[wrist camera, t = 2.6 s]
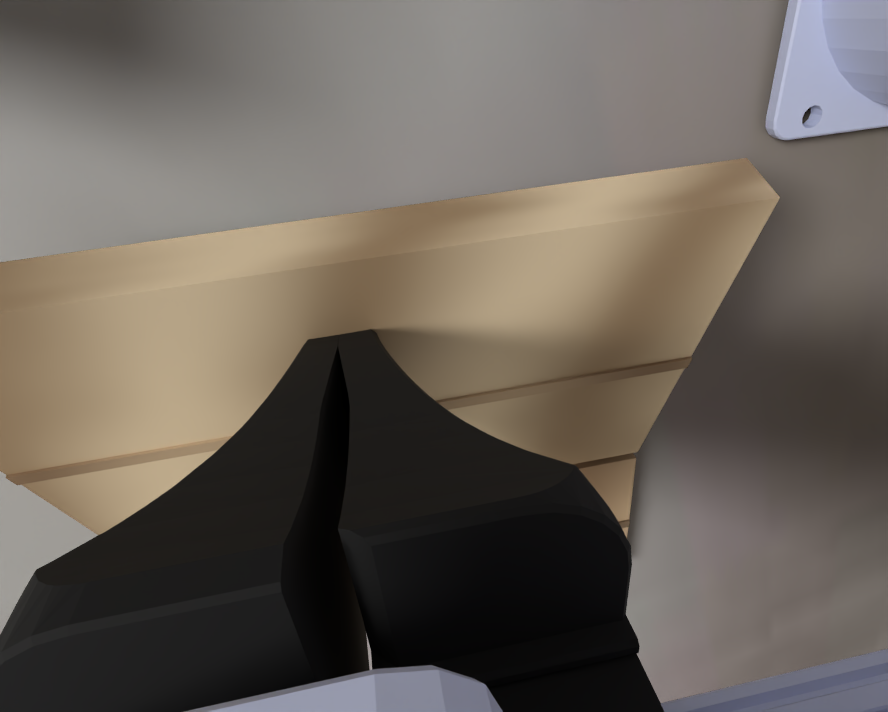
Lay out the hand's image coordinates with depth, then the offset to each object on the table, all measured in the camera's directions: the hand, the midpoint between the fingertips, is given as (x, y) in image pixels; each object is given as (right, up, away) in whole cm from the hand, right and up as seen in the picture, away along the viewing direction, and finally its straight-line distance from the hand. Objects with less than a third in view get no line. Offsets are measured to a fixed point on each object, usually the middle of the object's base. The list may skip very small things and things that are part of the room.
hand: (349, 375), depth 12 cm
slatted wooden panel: (0, 0, +3) cm, 3 cm away
